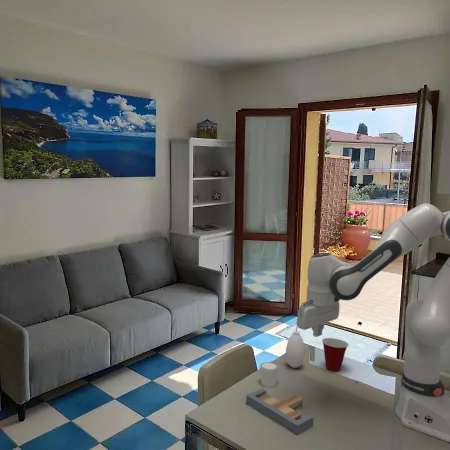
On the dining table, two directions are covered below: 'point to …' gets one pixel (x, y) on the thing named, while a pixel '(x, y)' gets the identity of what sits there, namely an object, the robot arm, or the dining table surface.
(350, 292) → the robot arm
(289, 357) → the sauce bottle
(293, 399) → the t block
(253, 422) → the dining table surface
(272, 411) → the dock
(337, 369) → the plastic cup
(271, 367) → the white cylinder
